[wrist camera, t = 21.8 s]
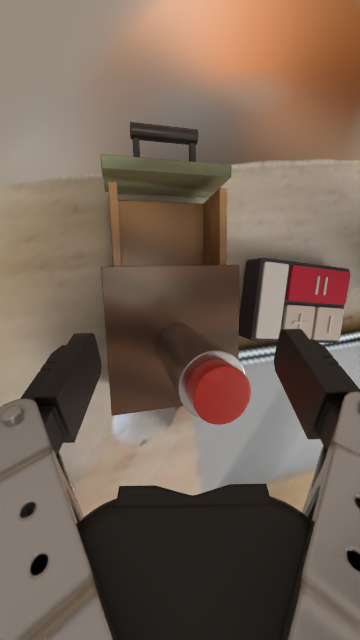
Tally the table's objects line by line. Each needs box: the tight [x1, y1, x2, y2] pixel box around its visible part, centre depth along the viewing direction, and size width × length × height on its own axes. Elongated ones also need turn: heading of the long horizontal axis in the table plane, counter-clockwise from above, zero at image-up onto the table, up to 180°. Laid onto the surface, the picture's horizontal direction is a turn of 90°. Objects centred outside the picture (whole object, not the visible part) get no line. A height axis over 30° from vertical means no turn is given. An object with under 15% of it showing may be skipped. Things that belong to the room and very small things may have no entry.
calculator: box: [239, 258, 350, 343], centre depth 36 cm, size 11×4×15 cm
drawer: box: [101, 122, 231, 266], centre depth 29 cm, size 18×13×7 cm
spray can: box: [155, 323, 251, 424], centre depth 21 cm, size 5×5×12 cm
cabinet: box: [101, 265, 239, 415], centre depth 31 cm, size 15×14×8 cm
